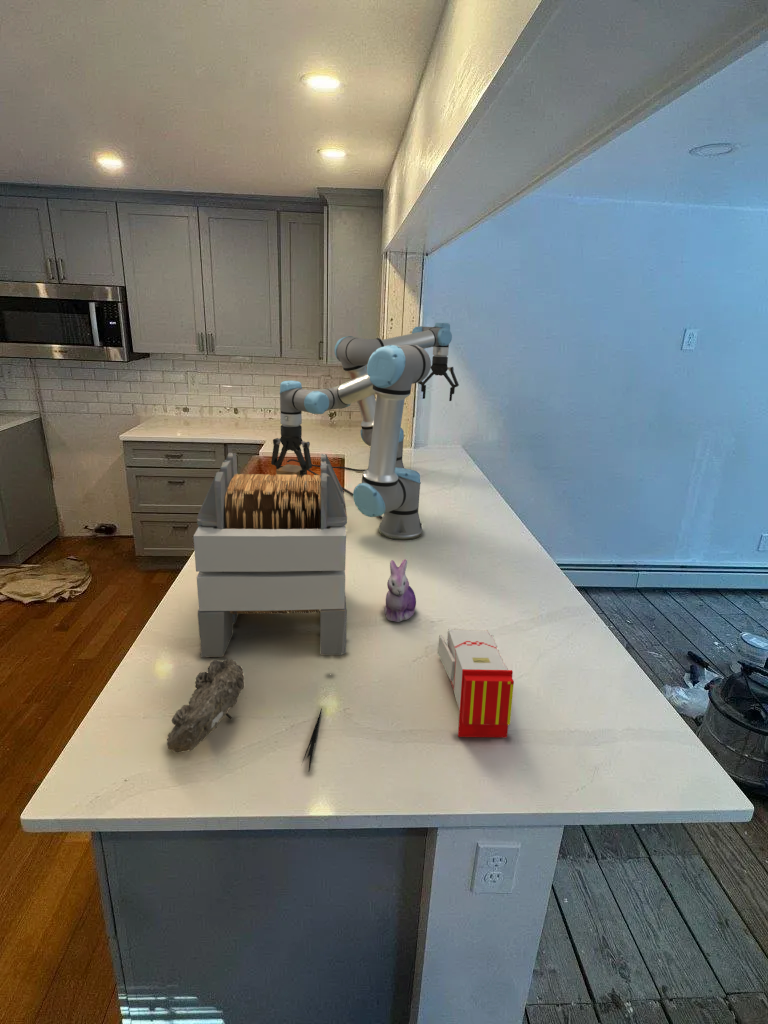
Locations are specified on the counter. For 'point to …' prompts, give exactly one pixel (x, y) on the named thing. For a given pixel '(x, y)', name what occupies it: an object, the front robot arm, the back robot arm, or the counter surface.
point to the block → (289, 470)
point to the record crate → (271, 552)
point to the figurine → (399, 594)
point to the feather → (313, 740)
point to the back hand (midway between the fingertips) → (437, 399)
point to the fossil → (206, 705)
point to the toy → (478, 682)
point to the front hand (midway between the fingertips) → (291, 485)
